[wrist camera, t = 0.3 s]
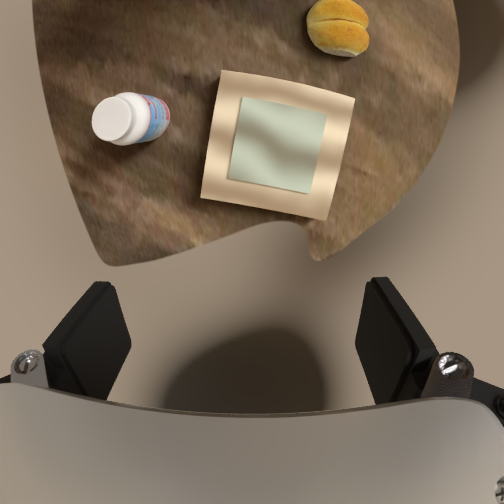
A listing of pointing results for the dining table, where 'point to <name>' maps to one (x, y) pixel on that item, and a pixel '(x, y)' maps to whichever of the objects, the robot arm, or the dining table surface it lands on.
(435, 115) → the dining table surface
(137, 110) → the pill bottle
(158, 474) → the robot arm
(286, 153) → the birch plinth
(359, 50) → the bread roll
